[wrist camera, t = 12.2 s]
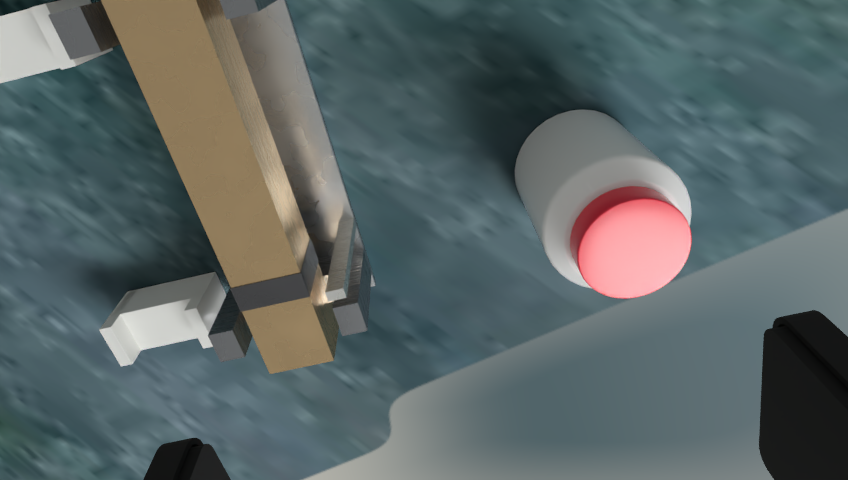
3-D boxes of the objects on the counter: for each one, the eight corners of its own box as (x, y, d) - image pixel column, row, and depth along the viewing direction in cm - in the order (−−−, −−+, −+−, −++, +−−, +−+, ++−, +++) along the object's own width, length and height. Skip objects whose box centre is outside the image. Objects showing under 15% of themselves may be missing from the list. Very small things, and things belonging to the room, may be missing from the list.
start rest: (-22, 23, 33) (-78, 35, 29) (87, -6, 32) (45, 3, 29) (146, 326, 43) (121, 366, 39) (232, 307, 42) (215, 346, 38)
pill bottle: (533, 98, 36) (583, 161, 26) (652, 121, 37) (743, 190, 27) (501, 213, 40) (534, 306, 30) (611, 231, 41) (678, 327, 31)
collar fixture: (105, -22, 32) (9, -5, 24) (265, -65, 32) (221, -61, 24) (252, 309, 42) (218, 398, 34) (375, 282, 42) (370, 365, 34)
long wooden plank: (123, -39, 29) (84, -34, 26) (202, -60, 29) (174, -58, 25) (280, 333, 40) (269, 374, 36) (340, 321, 39) (334, 360, 36)
